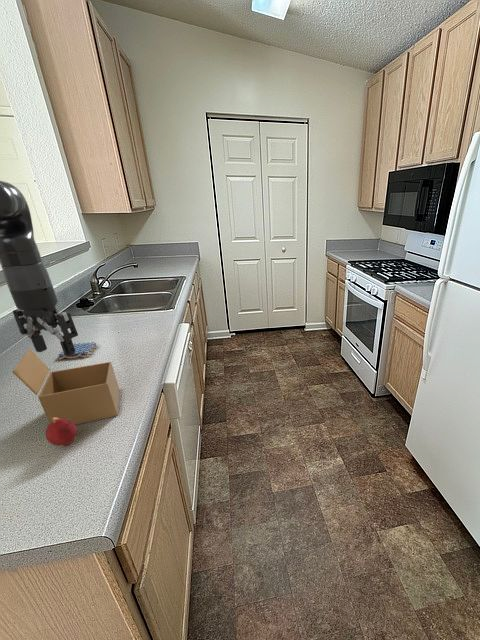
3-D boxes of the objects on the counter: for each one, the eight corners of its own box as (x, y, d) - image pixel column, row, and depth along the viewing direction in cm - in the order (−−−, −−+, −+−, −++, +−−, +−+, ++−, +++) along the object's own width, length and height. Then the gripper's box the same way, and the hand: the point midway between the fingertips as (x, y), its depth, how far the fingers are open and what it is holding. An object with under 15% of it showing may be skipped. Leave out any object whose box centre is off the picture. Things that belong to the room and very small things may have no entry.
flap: (37, 394, 79) (36, 394, 79) (50, 369, 90) (48, 370, 90) (13, 371, 75) (11, 372, 75) (29, 348, 86) (28, 349, 86)
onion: (71, 434, 82) (60, 407, 78) (86, 441, 80) (76, 413, 76) (46, 448, 77) (34, 421, 74) (61, 456, 75) (49, 428, 71)
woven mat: (57, 360, 120) (55, 355, 119) (69, 348, 129) (67, 343, 128) (89, 357, 121) (87, 352, 120) (98, 346, 131) (97, 341, 130)
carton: (52, 430, 84) (37, 397, 79) (62, 402, 95) (50, 372, 90) (117, 415, 89) (107, 383, 84) (119, 390, 100) (111, 361, 96)
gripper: (-13, 287, 70) (17, 356, 77) (39, 291, 66) (66, 363, 74) (22, 279, 76) (47, 343, 84) (71, 282, 73) (93, 349, 80)
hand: (56, 352), depth 79 cm, fingers open, 8 cm apart
